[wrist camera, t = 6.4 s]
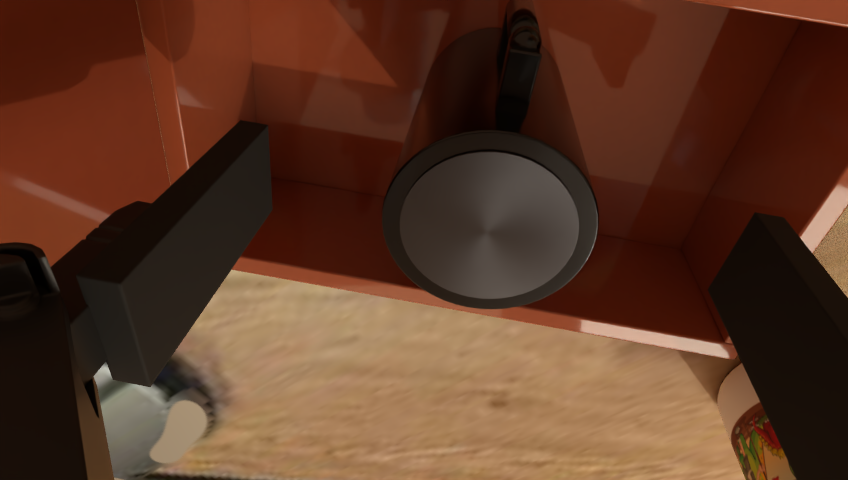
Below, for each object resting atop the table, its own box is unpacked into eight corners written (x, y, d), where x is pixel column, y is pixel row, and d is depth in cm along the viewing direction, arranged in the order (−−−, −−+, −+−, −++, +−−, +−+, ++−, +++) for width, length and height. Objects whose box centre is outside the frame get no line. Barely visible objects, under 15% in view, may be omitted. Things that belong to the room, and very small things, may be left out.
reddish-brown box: (840, -32, 18) (990, 13, 12) (684, 254, 25) (735, 361, 20) (227, -132, 18) (110, -131, 13) (251, 178, 26) (184, 261, 20)
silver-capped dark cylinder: (542, 171, 23) (562, 326, 15) (416, 149, 23) (373, 292, 15) (598, -15, 18) (668, 71, 11) (442, -41, 18) (398, 26, 11)
